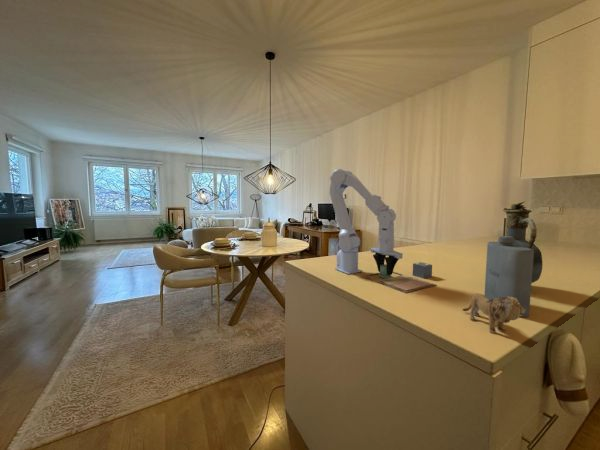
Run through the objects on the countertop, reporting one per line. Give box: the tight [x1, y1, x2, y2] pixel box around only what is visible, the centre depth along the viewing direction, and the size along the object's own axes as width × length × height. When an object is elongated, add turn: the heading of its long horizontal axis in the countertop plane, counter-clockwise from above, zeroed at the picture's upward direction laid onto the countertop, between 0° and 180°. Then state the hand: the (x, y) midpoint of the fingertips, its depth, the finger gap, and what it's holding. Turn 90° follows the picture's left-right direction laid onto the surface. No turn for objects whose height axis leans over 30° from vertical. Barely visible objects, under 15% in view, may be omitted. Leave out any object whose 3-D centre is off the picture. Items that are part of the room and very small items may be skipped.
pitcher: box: [502, 200, 543, 284], centre depth 83 cm, size 11×19×30 cm, turn 160°
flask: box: [483, 235, 534, 318], centre depth 70 cm, size 15×6×20 cm, turn 169°
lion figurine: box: [462, 292, 526, 335], centre depth 59 cm, size 15×5×9 cm, turn 9°
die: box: [412, 261, 433, 279], centre depth 100 cm, size 5×5×5 cm
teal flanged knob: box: [378, 263, 392, 279], centre depth 99 cm, size 5×5×4 cm
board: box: [361, 271, 437, 294], centre depth 94 cm, size 21×16×1 cm
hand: (385, 273), depth 99 cm, fingers closed on teal flanged knob, 4 cm apart
